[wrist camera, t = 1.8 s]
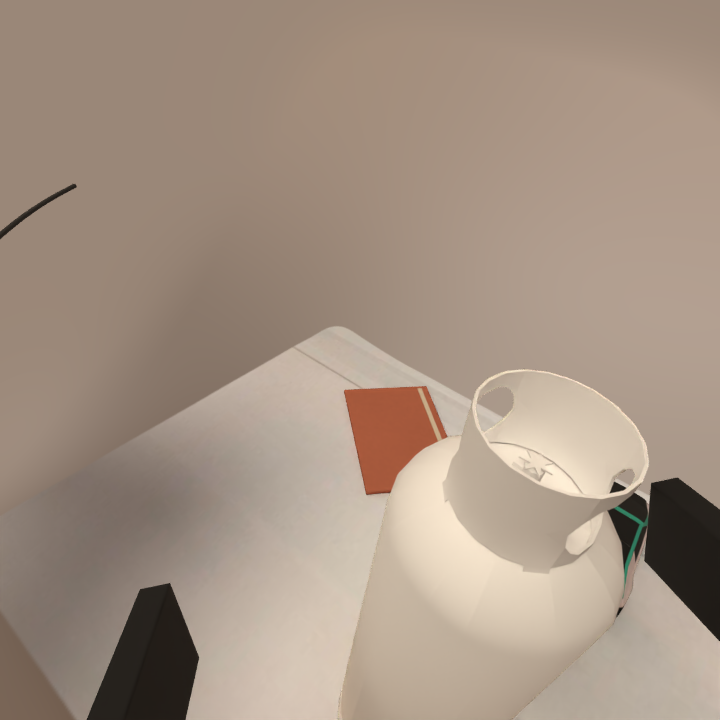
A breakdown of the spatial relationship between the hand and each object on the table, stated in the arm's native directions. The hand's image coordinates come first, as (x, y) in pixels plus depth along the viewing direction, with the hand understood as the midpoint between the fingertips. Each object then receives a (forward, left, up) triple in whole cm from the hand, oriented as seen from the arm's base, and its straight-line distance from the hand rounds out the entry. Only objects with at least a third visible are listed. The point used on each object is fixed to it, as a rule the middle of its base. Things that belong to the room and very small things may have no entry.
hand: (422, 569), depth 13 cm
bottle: (-2, +4, -25) cm, 25 cm away
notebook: (-26, +10, -25) cm, 37 cm away
